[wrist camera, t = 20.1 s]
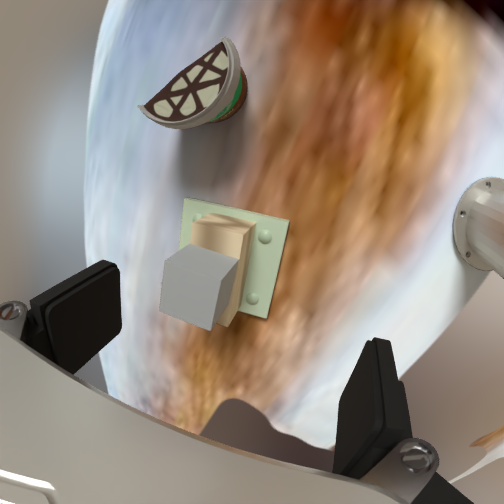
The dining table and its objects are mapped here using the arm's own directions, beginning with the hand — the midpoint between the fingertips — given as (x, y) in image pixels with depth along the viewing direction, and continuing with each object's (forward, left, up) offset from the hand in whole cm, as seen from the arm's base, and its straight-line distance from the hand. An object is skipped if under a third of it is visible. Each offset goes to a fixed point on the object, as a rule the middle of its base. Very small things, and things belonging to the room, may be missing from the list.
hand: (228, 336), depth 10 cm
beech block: (+8, +10, -29) cm, 31 cm away
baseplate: (+8, +10, -30) cm, 32 cm away
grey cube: (+8, +9, -23) cm, 26 cm away
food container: (+12, -10, -30) cm, 34 cm away
